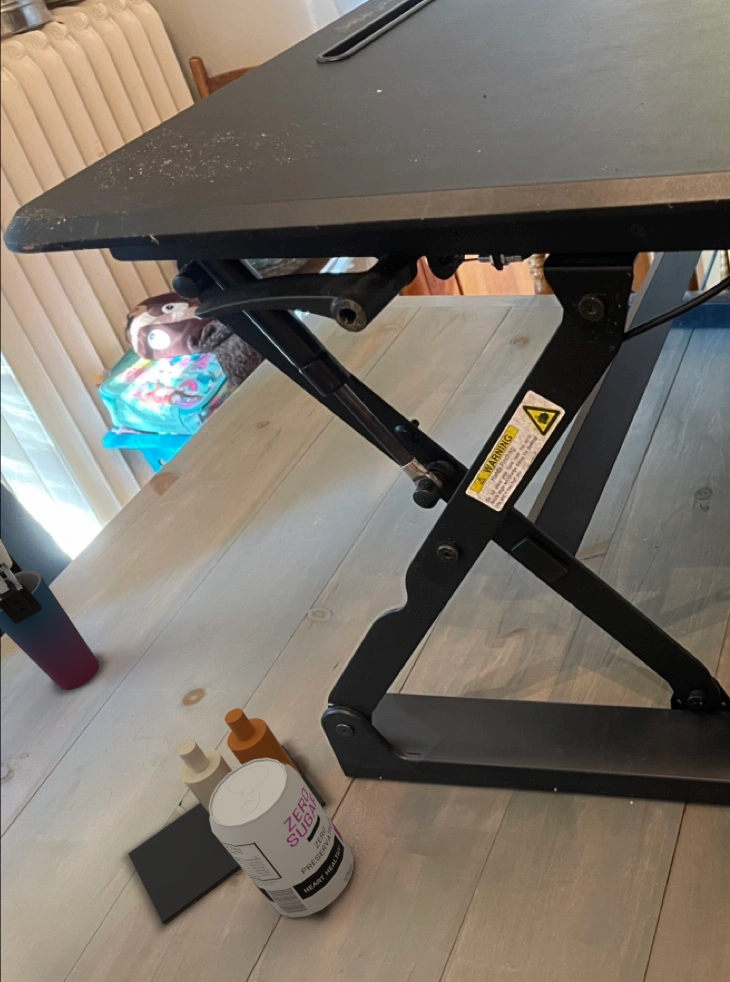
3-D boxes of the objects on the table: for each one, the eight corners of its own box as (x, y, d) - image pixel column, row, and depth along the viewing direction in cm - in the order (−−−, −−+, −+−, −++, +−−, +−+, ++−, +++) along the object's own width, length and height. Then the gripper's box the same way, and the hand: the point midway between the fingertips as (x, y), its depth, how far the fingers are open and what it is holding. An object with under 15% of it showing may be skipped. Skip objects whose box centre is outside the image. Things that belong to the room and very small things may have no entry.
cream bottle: (229, 841, 109) (173, 771, 102) (215, 819, 111) (159, 749, 104) (265, 815, 111) (212, 745, 103) (250, 793, 113) (198, 723, 106)
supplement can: (271, 864, 106) (202, 775, 97) (352, 830, 108) (292, 739, 99) (274, 935, 100) (200, 847, 91) (360, 897, 102) (295, 807, 93)
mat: (164, 924, 103) (162, 922, 103) (130, 856, 110) (127, 853, 110) (326, 804, 111) (324, 801, 111) (284, 747, 118) (282, 744, 118)
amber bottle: (273, 809, 111) (221, 738, 104) (259, 787, 114) (207, 717, 106) (308, 784, 113) (259, 713, 106) (293, 763, 116) (244, 692, 108)
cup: (40, 699, 131) (-32, 616, 122) (65, 657, 137) (-2, 574, 128) (92, 691, 131) (23, 607, 122) (115, 649, 136) (51, 566, 127)
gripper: (-122, 476, 119) (-30, 582, 130) (-96, 541, 108) (3, 651, 119) (-52, 442, 123) (33, 547, 133) (-19, 501, 112) (70, 611, 122)
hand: (18, 596), depth 126 cm, fingers open, 9 cm apart
